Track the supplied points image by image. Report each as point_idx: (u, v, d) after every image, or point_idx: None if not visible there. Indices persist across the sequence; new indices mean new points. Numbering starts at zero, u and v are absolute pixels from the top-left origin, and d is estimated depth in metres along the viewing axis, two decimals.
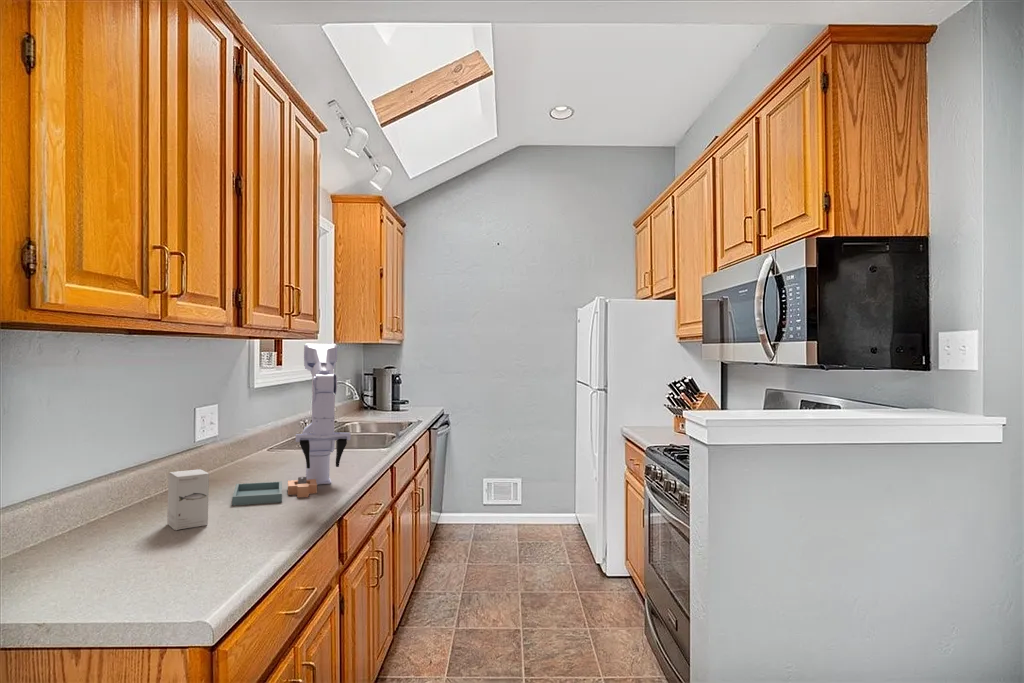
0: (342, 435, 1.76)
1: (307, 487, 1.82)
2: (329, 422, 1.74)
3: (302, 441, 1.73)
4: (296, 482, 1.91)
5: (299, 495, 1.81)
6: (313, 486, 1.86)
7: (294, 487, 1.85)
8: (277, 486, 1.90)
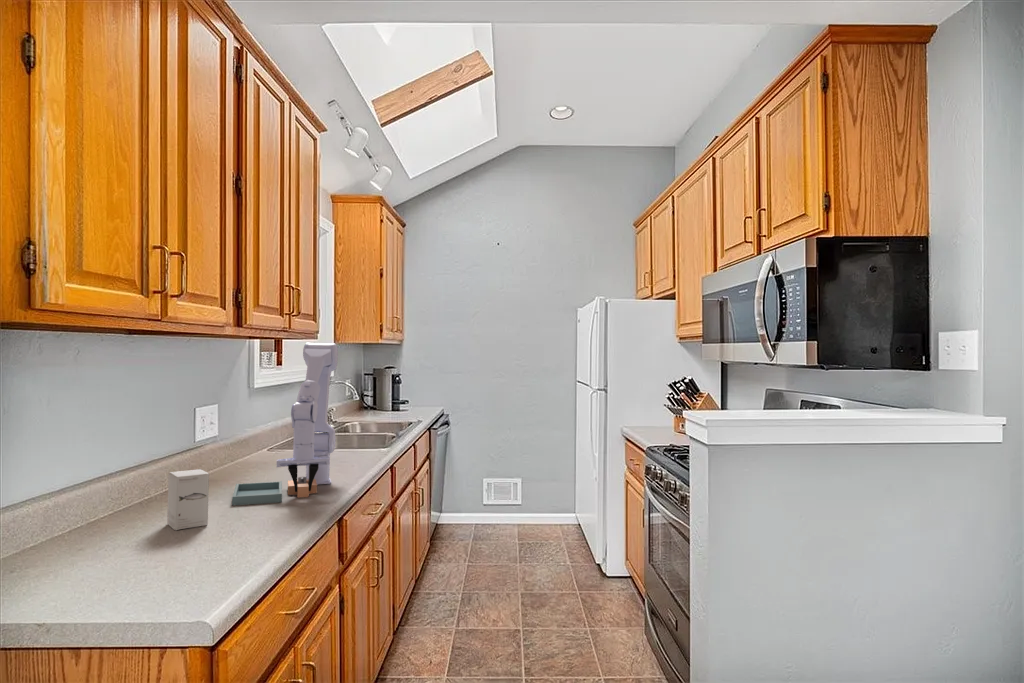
0: (321, 460, 1.84)
1: (307, 487, 1.82)
2: (308, 448, 1.82)
3: (283, 466, 1.81)
4: None
5: (299, 495, 1.81)
6: (313, 486, 1.86)
7: (294, 487, 1.85)
8: (277, 486, 1.90)
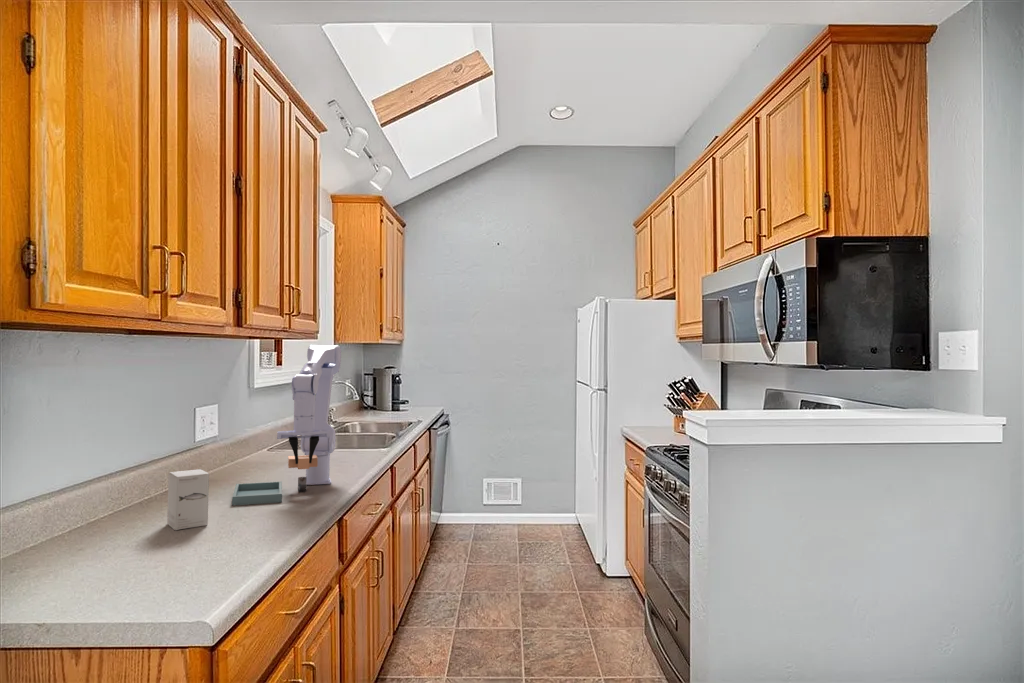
0: (322, 432, 1.84)
1: (308, 459, 1.82)
2: (309, 420, 1.82)
3: None
4: None
5: (300, 467, 1.81)
6: (314, 459, 1.86)
7: None
8: (277, 486, 1.90)
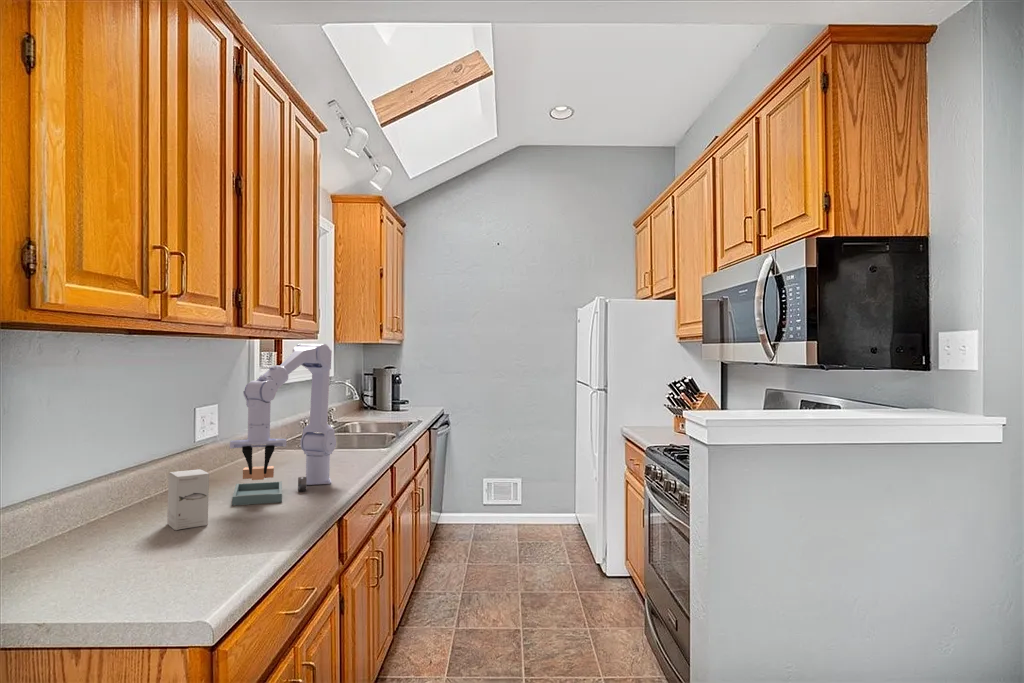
0: (277, 441, 1.76)
1: (262, 469, 1.74)
2: (264, 428, 1.74)
3: (236, 447, 1.73)
4: None
5: (253, 477, 1.73)
6: (269, 470, 1.79)
7: None
8: (277, 486, 1.90)
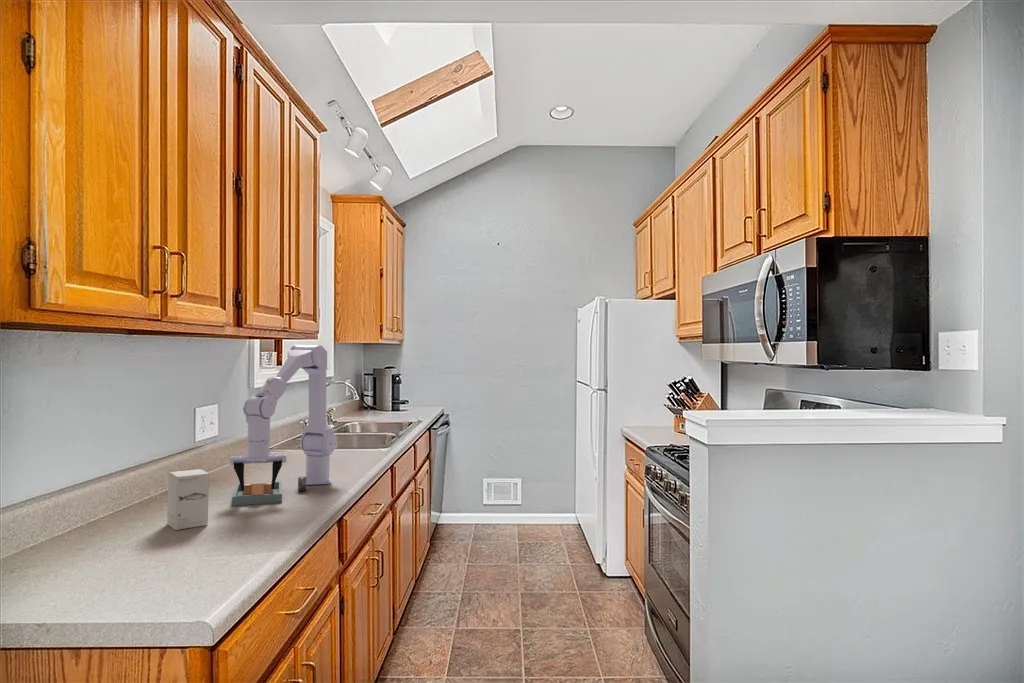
0: (277, 457, 1.76)
1: (262, 484, 1.74)
2: (263, 445, 1.74)
3: (236, 464, 1.73)
4: None
5: (253, 492, 1.73)
6: (269, 485, 1.79)
7: (249, 486, 1.77)
8: (277, 486, 1.90)
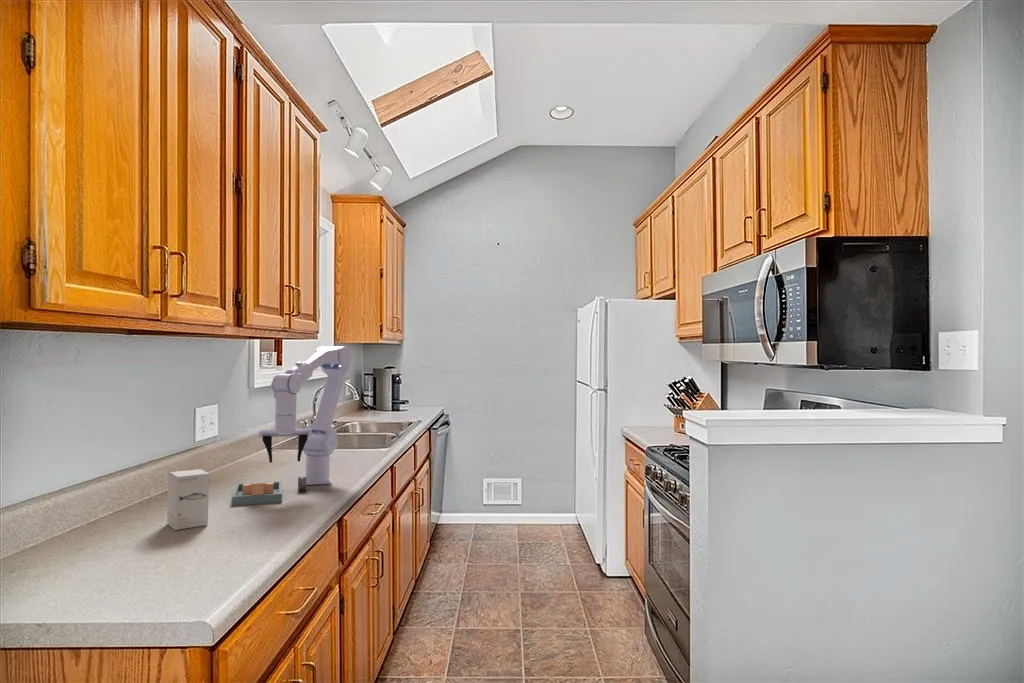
0: (303, 431, 1.86)
1: (262, 484, 1.74)
2: (290, 419, 1.84)
3: (265, 437, 1.83)
4: None
5: (253, 492, 1.73)
6: (269, 485, 1.79)
7: (249, 486, 1.77)
8: (277, 486, 1.90)
